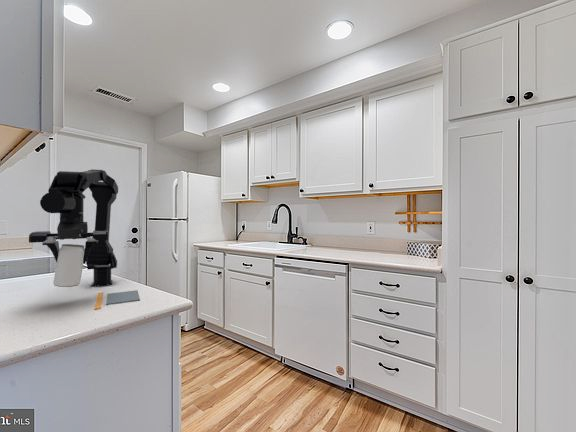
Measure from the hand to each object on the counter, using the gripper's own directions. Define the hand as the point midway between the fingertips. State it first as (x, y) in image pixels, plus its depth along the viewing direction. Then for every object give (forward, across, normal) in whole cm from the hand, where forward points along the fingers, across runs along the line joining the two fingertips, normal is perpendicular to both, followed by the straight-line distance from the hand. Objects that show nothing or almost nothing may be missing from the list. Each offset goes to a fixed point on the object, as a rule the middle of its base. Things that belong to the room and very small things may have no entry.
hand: (71, 264), depth 86 cm
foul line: (+12, +7, -1) cm, 14 cm away
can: (+6, -1, 0) cm, 6 cm away
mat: (+12, +14, -1) cm, 18 cm away
